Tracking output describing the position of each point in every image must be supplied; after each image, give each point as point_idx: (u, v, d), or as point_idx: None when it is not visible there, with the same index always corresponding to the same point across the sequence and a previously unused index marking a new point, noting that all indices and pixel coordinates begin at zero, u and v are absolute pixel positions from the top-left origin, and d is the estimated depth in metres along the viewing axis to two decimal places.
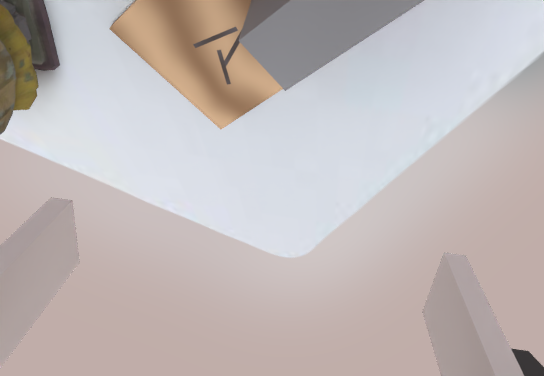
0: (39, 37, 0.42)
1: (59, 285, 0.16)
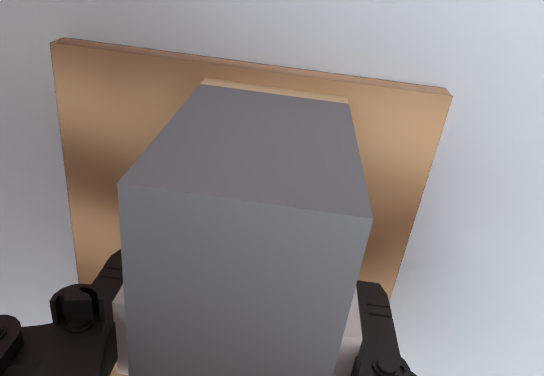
0: None
1: None
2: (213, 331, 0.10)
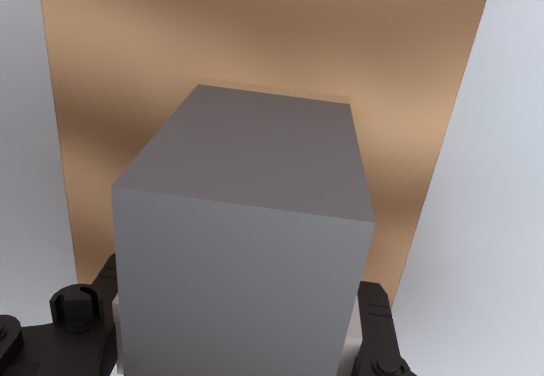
0: None
1: None
2: (211, 338, 0.10)
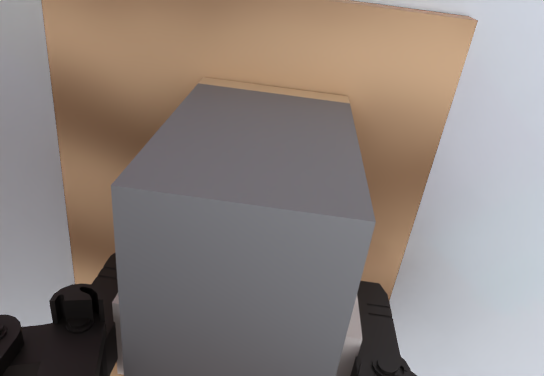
0: None
1: None
2: (211, 337, 0.10)
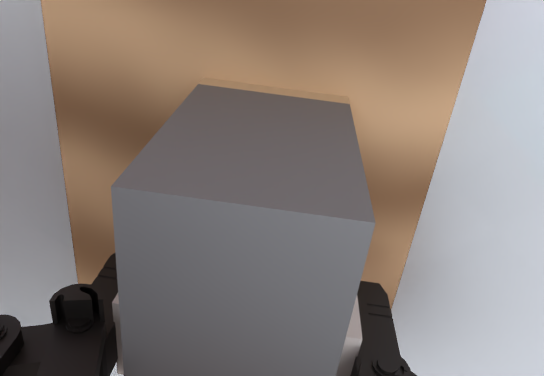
0: None
1: None
2: (211, 338, 0.10)
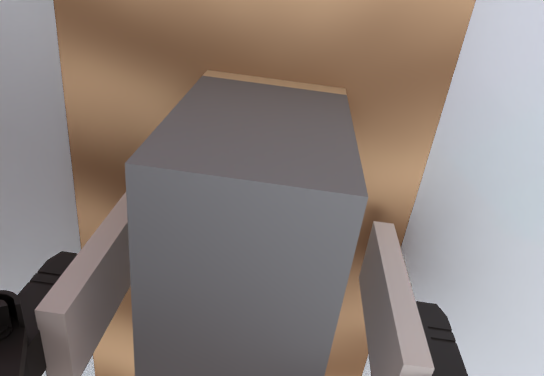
0: None
1: None
2: (216, 308, 0.11)
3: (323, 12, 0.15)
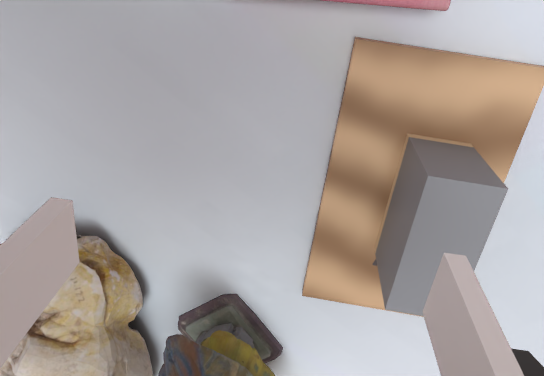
0: (258, 335, 0.47)
1: (59, 285, 0.16)
2: (443, 229, 0.30)
3: (465, 111, 0.34)
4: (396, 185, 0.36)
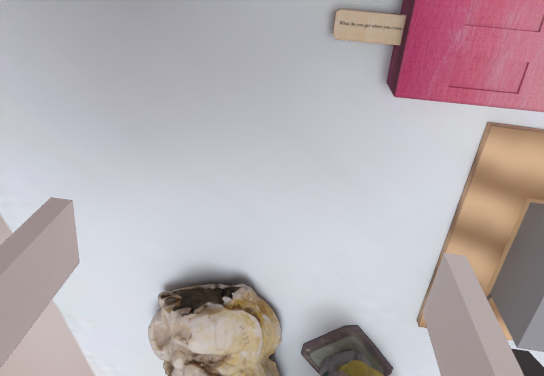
0: (373, 358, 0.54)
1: (59, 285, 0.16)
2: None
3: None
4: (516, 240, 0.43)
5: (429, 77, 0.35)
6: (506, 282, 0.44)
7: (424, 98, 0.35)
